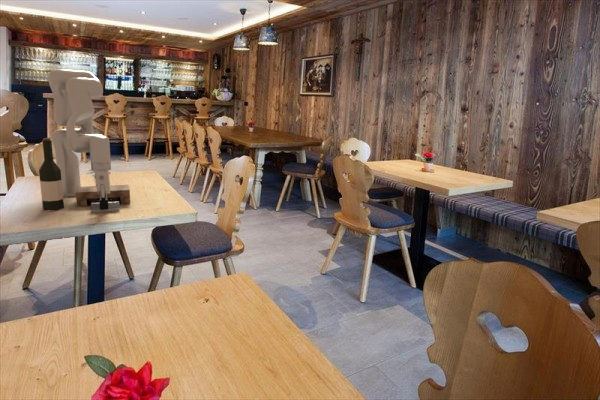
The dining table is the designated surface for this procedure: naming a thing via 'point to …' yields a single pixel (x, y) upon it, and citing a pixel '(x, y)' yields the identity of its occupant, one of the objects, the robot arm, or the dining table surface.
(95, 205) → the tray
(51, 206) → the wine bottle
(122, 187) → the shelf
